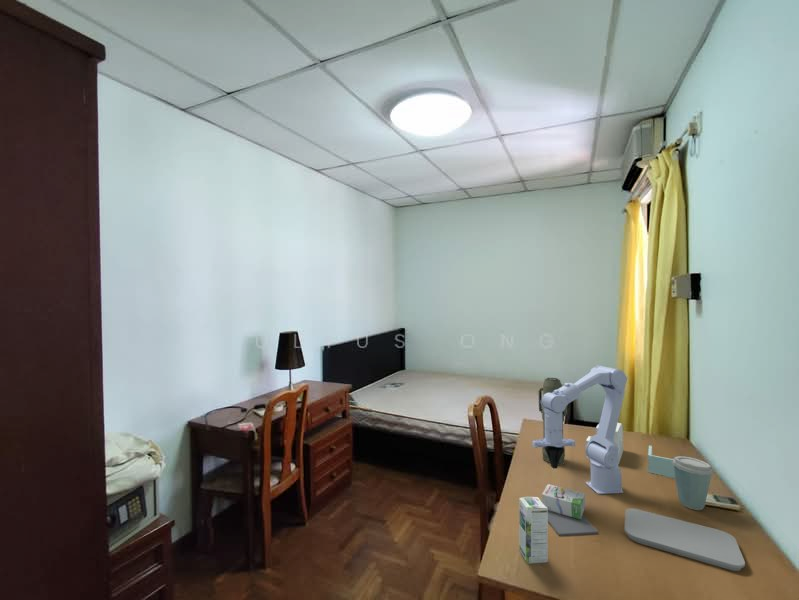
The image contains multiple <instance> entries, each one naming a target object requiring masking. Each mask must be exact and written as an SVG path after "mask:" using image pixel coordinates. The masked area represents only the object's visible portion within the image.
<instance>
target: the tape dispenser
mask: <svg viewBox="0 0 799 600" xmlns="http://www.w3.org/2000/svg"><path fill="white" fill-rule="evenodd" d="M598 427H599V423H598V424H597V425H596V427H595V435H596V434H597V431H598ZM590 437H592V436H590V435H588V437H587V438H586V440H585V447H586V446H587V444H588V443H589V441H590ZM613 440H614V442H615V443H616V445H617V446H618V448H619V450H618V463H617V465H618V466H619V464H620V461H621V458H622V456H623V452H624V428H623V423H621V422H618V423H617V427H616V431H615V435H614V439H613ZM601 445H602V444H601ZM603 446H604V445H603ZM586 459H587V460H589V457H588V456H587V455H586Z"/></svg>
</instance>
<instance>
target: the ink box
mask: <svg viewBox="0 0 799 600" xmlns="http://www.w3.org/2000/svg"><path fill="white" fill-rule="evenodd" d="M541 501H542V502H543V503H544V505H545V506H546V507H547V508H548V510H549V511H552V512H556V513H559V514H563V515H566V516H570V517H573V518H576V519H580V520H581V518H582V515H583V514H584V512H585V510H586V494H585V493H584V492H581V491H577V490H572V489H569V488H565V487H560V486H559V485H558V486H557V485H553V484H549V483H548V484H547V485H546V486H545V488H544V490H543V492H542V493H541ZM583 516H584V515H583Z"/></svg>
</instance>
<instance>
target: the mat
mask: <svg viewBox="0 0 799 600" xmlns="http://www.w3.org/2000/svg"><path fill="white" fill-rule="evenodd" d="M548 524H549V525H550V527H551V528H552V530H554V532H555V533H556V535H558V536H559V537H563V536H564V537H565V536H579V535H581V536H584V535H597V534H598V535H599V531H598V529H597V528H595V527H594V525H593V524H592V523H591V522H589V520H588V519H587V518H586V516H584V515H582V518H581V520H580V519H576V518H573V517H570V516H566V515H563V514H559V513H556V512H552V511H549V510H548Z"/></svg>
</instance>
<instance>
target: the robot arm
mask: <svg viewBox="0 0 799 600" xmlns="http://www.w3.org/2000/svg"><path fill="white" fill-rule="evenodd" d="M627 381H628V376H627V375H626V374H625V372H624V371H623V370H622V369H619V368H614V367H608V366H603V365H600V364H597V365H595V367H592V368H591V369H590V371H589V373H587V374H586V375H584V376H582V377H581V378H580V379H579V380H577V381H576V382H574V383H573V382H565V383H564V384H563V385H562V387H561V388H559V389H557V390H554V392H552V393H546V394H544V395H543V394H542V395H543V396H542V400H541V405H542V406H543V408H544V413H545V438H544V439H543V438H541V439H540V438H539V439H535V440H532V441H531V443H532V447H533V448H534V449H538V448H542V447H544V448H545V450H546V452H547V454H548V457H549V460H550V464H549V465H550V467H551V468H552V469H558V466H559V465H558V463H559V460H560V458H561V456H562V454H563V453H564V449H563V448H562V446H565V447H573V448H574V447H576V441H575V440H574V439H572V438H564V435H563V436H562V412H563V411H564V410H565V408H566V406H567V407H568V406H569V404H570V403H572V402H573V401H575V400H576V399H579V397H580V396H581V392H584V391H585V390H587V389H590V388H592V387H593V386H596V385H597V384H598V385H599V386H601V388H603V390H604V392H606V394H605V398H604V403H603V406H602V410H601V416H600V419H599V423H598V424H599V427H598V431H597V434H596V433H595V434H594V435H592V436H591V437H590V441H589V443H588V444H587V446H586V445H585V454H586V455H587V456H588V457H589V459H588V460H589V462H590V481H585V484H586V485H587V486H588V487H589V488H590V489H592V490H593V491H594V492H595V493H596V494H598V495H606V494H607V495H608V494H623V493H624V491H623V489H622V485H623V483H622V482H623V481H622V475H623V474H622V471H621V468H620V466H619V464H618V465H617V463H618V450H619V448H618V446H617V445H616V443H615V442H614V440H613V439H614V435H615V431H616V427H617V423H619V418H620V413H621V409H622V406H623V401H624V396H625V392H626V391H625V390H626V386H627V385H626V384H627ZM601 444H602V445H601ZM603 445H604V446H603Z"/></svg>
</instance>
